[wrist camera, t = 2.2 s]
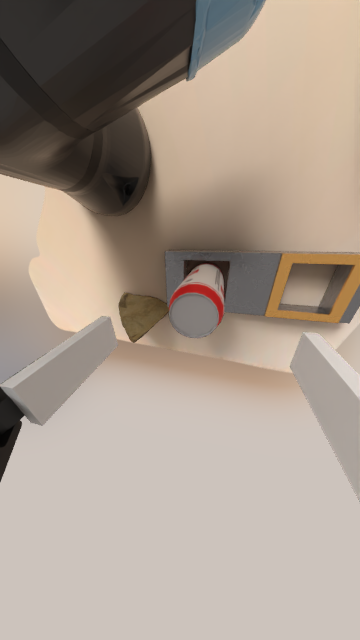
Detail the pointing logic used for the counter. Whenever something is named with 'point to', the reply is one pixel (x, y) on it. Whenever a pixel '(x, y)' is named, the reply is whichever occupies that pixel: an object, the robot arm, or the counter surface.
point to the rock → (140, 314)
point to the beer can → (198, 302)
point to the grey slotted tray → (275, 282)
